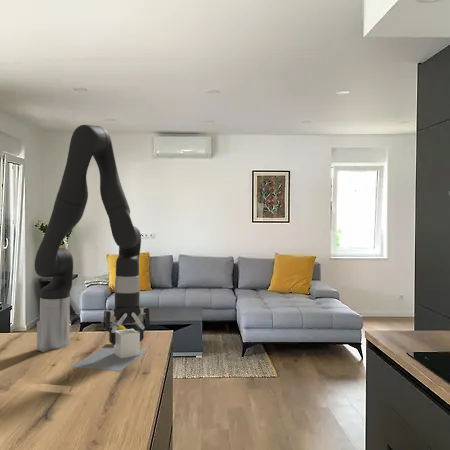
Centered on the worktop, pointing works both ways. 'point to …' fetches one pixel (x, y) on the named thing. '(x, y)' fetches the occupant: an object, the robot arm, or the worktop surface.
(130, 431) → the worktop surface
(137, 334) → the duct collar
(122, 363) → the duct base
